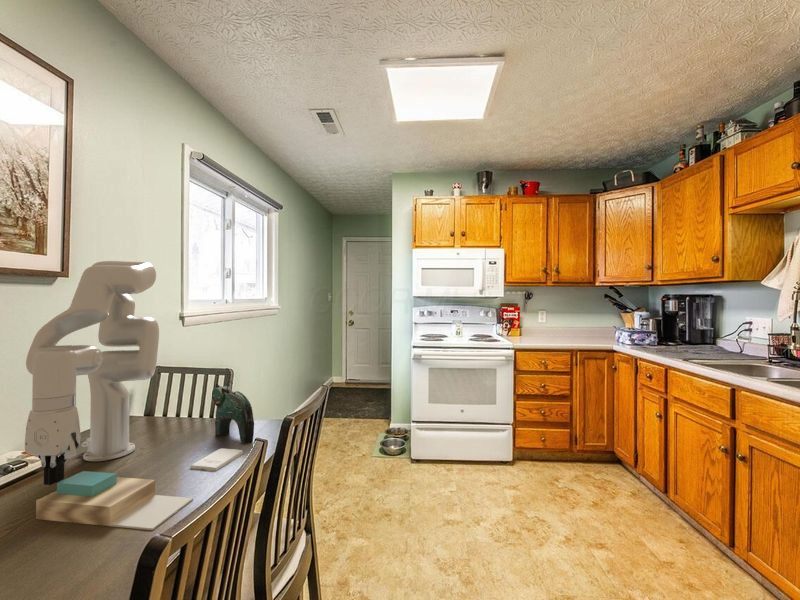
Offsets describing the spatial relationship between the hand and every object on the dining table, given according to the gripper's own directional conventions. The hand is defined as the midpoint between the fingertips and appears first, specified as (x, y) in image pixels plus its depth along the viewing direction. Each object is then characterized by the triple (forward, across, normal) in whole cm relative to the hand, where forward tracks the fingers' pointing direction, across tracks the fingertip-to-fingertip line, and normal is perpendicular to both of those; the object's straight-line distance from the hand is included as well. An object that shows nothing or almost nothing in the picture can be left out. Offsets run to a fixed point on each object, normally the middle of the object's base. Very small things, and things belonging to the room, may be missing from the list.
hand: (53, 481), depth 87 cm
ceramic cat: (+5, +17, +45) cm, 48 cm away
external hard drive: (+6, +23, +27) cm, 36 cm away
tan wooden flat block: (+5, +12, 0) cm, 13 cm away
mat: (+5, +26, 0) cm, 26 cm away
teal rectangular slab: (+1, +9, 0) cm, 9 cm away
